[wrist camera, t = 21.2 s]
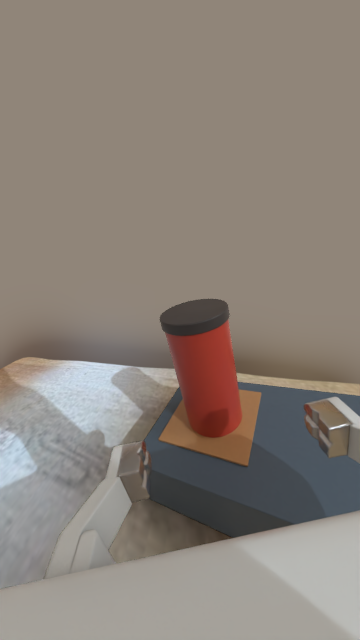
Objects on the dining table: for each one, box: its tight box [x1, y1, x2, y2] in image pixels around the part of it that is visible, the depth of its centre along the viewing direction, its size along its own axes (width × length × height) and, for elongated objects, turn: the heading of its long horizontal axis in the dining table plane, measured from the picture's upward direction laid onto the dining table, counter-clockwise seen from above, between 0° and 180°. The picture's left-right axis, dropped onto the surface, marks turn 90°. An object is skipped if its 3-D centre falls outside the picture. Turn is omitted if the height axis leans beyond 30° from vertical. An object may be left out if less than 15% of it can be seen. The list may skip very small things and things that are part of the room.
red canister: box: [160, 299, 242, 438], centre depth 19 cm, size 6×6×11 cm
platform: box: [144, 382, 360, 538], centre depth 19 cm, size 23×12×5 cm, turn 64°
